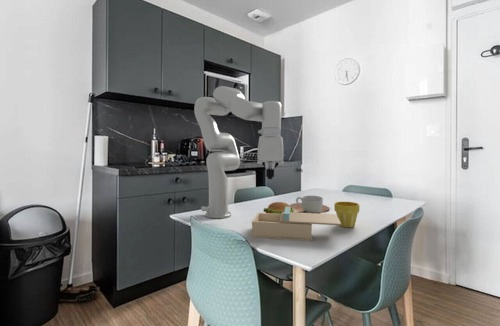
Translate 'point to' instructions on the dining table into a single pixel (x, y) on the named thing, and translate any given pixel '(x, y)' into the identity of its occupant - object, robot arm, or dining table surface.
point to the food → (277, 208)
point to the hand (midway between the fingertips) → (270, 178)
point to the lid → (309, 218)
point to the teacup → (311, 203)
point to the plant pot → (347, 213)
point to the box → (279, 228)
